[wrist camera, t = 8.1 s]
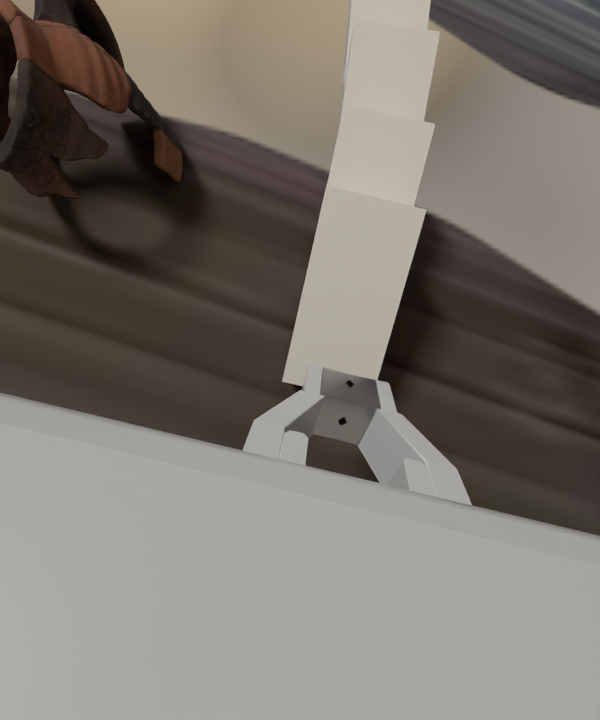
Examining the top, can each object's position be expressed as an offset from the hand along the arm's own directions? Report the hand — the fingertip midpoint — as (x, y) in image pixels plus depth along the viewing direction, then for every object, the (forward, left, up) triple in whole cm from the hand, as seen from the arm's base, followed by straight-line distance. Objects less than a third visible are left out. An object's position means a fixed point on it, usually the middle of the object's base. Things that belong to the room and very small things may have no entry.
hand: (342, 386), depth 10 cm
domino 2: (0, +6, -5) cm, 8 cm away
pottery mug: (-18, +13, -7) cm, 23 cm away
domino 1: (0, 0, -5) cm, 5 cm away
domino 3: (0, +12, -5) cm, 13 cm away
